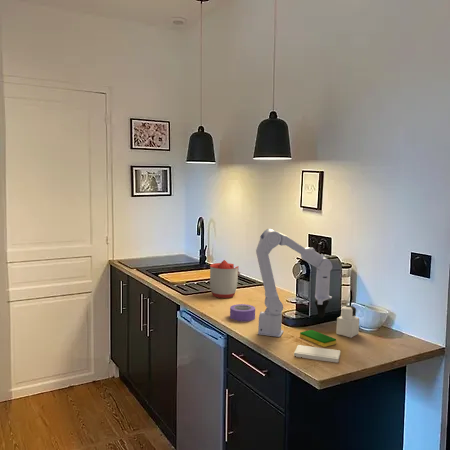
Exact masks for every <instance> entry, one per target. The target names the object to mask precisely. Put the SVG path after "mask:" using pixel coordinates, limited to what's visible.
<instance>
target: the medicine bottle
mask: <svg viewBox="0 0 450 450" xmlns="http://www.w3.org/2000/svg"><path fill="white" fill-rule="evenodd" d="M356 314H357V308H356V307H355V306H353V305H343V306H341V312H340V316H339V317H337V318H336V329H335V333H336V335H339V336H344V337H348V338H353V337H355V336H357V335H359V332H360V331H359V330H360V329H359V328H360V317H358V316H356Z"/></svg>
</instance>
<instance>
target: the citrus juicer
mask: <svg viewBox="0 0 450 450" xmlns="http://www.w3.org/2000/svg"><path fill="white" fill-rule="evenodd" d="M234 265H235V264H234V263H231V262H230V263H229V262H228V261H227V260H225V259H224V260H222V261H221V262H218V263H216V262H215V263H211V264H210V265H209V267H210V268H209V269H210V271H209V286H210V291H211V294H212V296H213V297H215V298H219V299H229V298H233V297H235V295H236V291H237V287H238V279H239V278H238V276H239V275H241V272H240V271H239V265H237V266H234Z"/></svg>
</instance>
